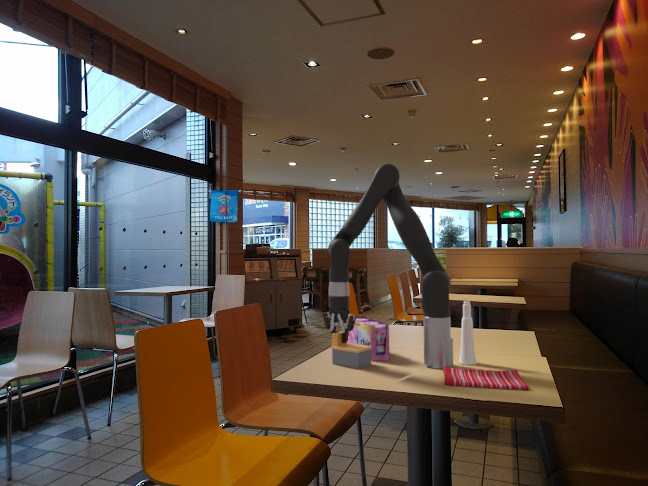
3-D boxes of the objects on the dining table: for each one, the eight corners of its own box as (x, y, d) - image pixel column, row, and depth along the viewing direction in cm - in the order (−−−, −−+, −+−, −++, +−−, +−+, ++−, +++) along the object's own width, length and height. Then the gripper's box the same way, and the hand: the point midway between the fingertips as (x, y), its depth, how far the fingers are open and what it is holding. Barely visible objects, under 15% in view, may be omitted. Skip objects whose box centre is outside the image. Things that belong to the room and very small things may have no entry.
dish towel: (442, 373, 153) (442, 365, 153) (519, 377, 147) (518, 368, 147) (443, 387, 137) (443, 378, 137) (528, 392, 131) (528, 383, 131)
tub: (371, 365, 161) (370, 348, 162) (358, 370, 155) (358, 352, 155) (345, 361, 168) (345, 345, 168) (332, 365, 162) (332, 348, 162)
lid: (372, 350, 162) (371, 334, 162) (358, 354, 155) (358, 338, 155) (343, 346, 169) (343, 330, 169) (329, 350, 163) (329, 334, 163)
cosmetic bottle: (478, 362, 165) (477, 301, 166) (473, 365, 160) (472, 302, 161) (462, 360, 169) (461, 300, 169) (456, 363, 164) (455, 301, 164)
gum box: (392, 361, 168) (391, 324, 168) (372, 363, 165) (371, 325, 165) (366, 349, 190) (365, 316, 191) (348, 350, 188) (348, 317, 188)
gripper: (361, 294, 164) (361, 342, 164) (329, 292, 173) (330, 338, 173) (349, 296, 158) (349, 346, 158) (317, 294, 167) (317, 341, 167)
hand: (339, 342), depth 165 cm, fingers open, 4 cm apart
